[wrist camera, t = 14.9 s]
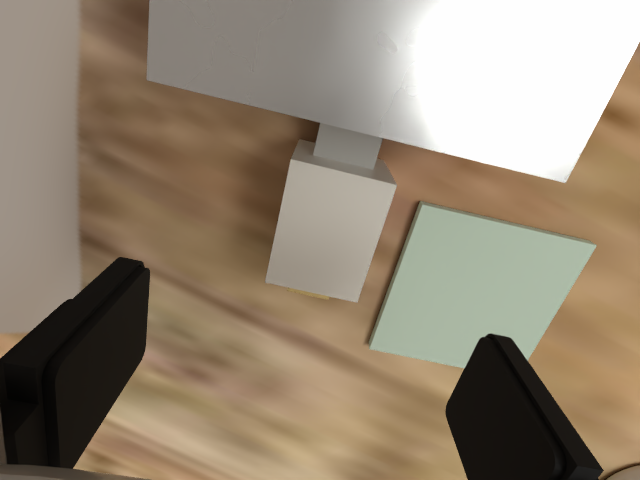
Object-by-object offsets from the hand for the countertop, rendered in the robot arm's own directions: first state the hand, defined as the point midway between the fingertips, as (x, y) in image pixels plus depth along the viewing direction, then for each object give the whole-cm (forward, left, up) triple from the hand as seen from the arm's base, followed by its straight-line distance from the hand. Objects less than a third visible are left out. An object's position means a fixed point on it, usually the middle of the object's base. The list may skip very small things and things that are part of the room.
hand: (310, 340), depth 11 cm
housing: (-8, 0, -11) cm, 14 cm away
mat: (+4, +10, -11) cm, 16 cm away
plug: (-5, 0, -11) cm, 12 cm away
